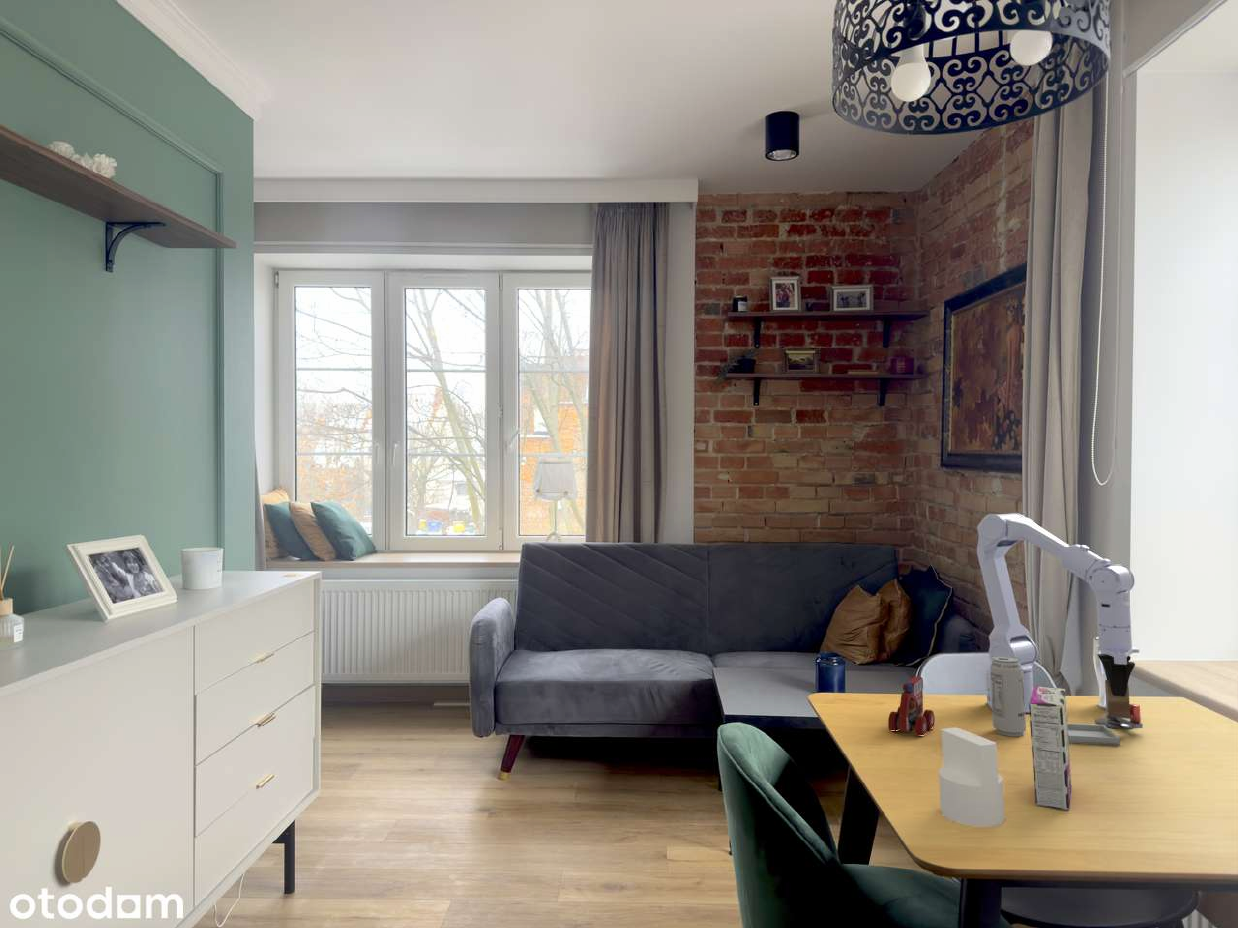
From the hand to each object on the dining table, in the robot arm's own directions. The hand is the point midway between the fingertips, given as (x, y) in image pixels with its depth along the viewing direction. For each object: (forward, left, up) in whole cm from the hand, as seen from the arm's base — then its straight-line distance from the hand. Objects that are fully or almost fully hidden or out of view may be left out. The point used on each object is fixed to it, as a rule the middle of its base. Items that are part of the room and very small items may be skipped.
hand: (1117, 693), depth 156 cm
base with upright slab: (-35, -48, -8) cm, 60 cm away
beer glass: (+5, +20, -8) cm, 23 cm away
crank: (+2, +4, -7) cm, 8 cm away
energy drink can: (-21, -4, -8) cm, 23 cm away
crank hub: (+1, +6, -8) cm, 10 cm away
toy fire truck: (-40, -6, -8) cm, 41 cm away
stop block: (0, 0, -4) cm, 4 cm away
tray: (-7, -4, -8) cm, 11 cm away
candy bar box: (-21, -38, -8) cm, 44 cm away
